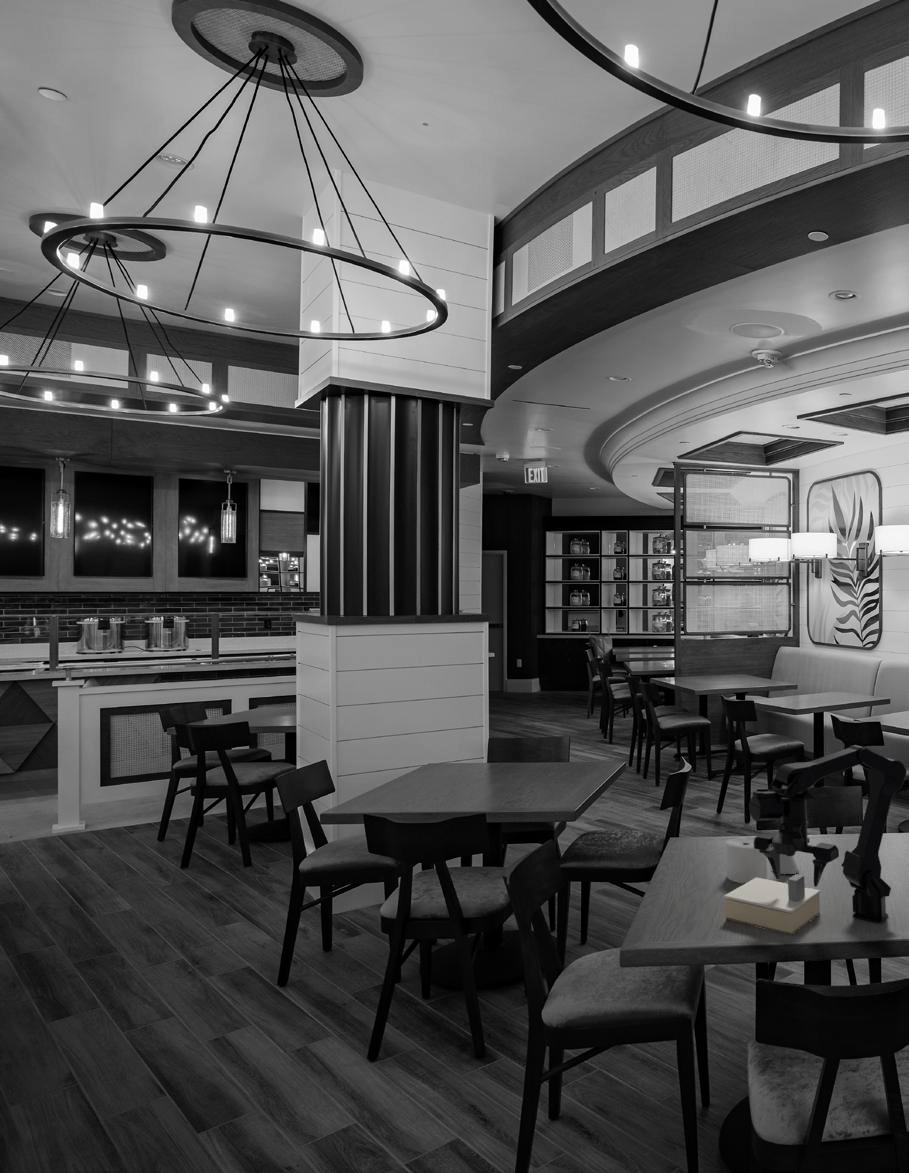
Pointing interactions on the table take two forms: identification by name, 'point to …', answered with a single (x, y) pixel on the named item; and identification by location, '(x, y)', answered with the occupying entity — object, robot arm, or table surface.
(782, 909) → the carton lid
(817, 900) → the carton
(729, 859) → the toilet tissue
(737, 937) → the table surface
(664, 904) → the table surface
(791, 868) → the flask
